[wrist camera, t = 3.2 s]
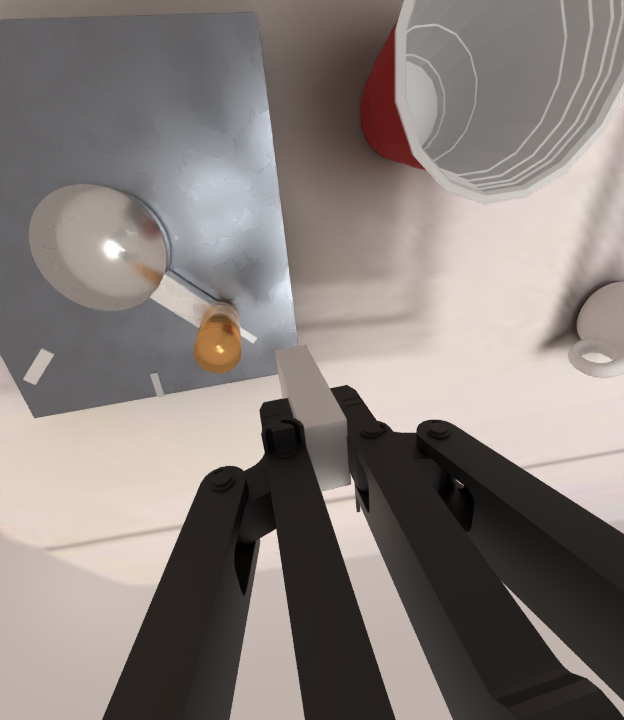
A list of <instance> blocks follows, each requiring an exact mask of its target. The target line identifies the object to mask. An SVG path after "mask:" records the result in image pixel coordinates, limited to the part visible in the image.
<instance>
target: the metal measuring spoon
mask: <svg viewBox="0 0 624 720" xmlns="http://www.w3.org/2000/svg"><path fill="white" fill-rule="evenodd" d="M29 244H30V249H31V253H32V255H33V258H34V261H35V263H36V265H37V267H38V269H39V270H40V272H41V273H42V275H43V276H44V277H45V279H46V280H47V281H48V282H49V283H50V284H51V285H52V286H53V287H54V288H55V289H56V290H57V291H59V292H60V293H61V294H62V295H64V296H65V297H67V298H68V299H70V300H72V301H74V302H76V303H78V304H80V305H83V306H85V307H88V308H92V309H96V310H103V311H118V310H124V309H129V308H132V307H135V306H137V305H139V304H141V303H142V302H144V301H145V300H147V299H148V298H149V297H150V298H151V299H153V300H155V301H156V302H158V303H159V304H161V305H163V306H164V307H166V308H168V309H169V310H171V311H172V312H174V313H176V314H177V315H179V316H180V317H182V318H184V319H185V320H187V321H189V322H190V323H192V324H193V325H195V326H197V327H198V328H199V331H198V334H197V338H196V342H195V346H194V357H195V360H196V362H197V363H198V365H199V366H200V367H201V368H203V369H204V370H206V371H208V372H211V373H225V372H228V371H230V370H232V369H233V368H234V367H236V365H237V364H238V363H239V361H240V358H241V335H240V318H239V314H238V312H237V310H236V309H235V308H234V307H233V306H232V305H231V304H229V303H226V302H216V301H215V300H213V299H212V298H210V297H209V296H207V295H206V294H204V293H203V292H201V291H200V290H198V289H197V288H195V287H194V286H192V285H191V284H189V283H188V282H186V281H185V280H183V279H182V278H180V277H179V276H177V275H176V274H174V273H173V272H172V271H170V270H169V266H170V258H171V253H170V245H169V240H168V237H167V234H166V232H165V230H164V228H163V226H162V224H161V222H160V221H159V219H158V218H157V217H156V215H155V214H154V213H153V212H152V211H151V210H150V209H149V208H148V207H147V206H146V205H145V204H144V203H143V202H141V201H140V200H139V199H137V198H136V197H134V196H132V195H130V194H128V193H126V192H124V191H122V190H119V189H116V188H112V187H108V186H99V185H90V184H76V185H70V186H66V187H63V188H60V189H58V190H56V191H54V192H52V193H50V194H49V195H48V196H46V197H45V198H44V199H43V200H42V201H41V202H40V203H39V205H38V206H37V208H36V209H35V211H34V213H33V215H32V218H31V221H30V225H29Z"/></svg>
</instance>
